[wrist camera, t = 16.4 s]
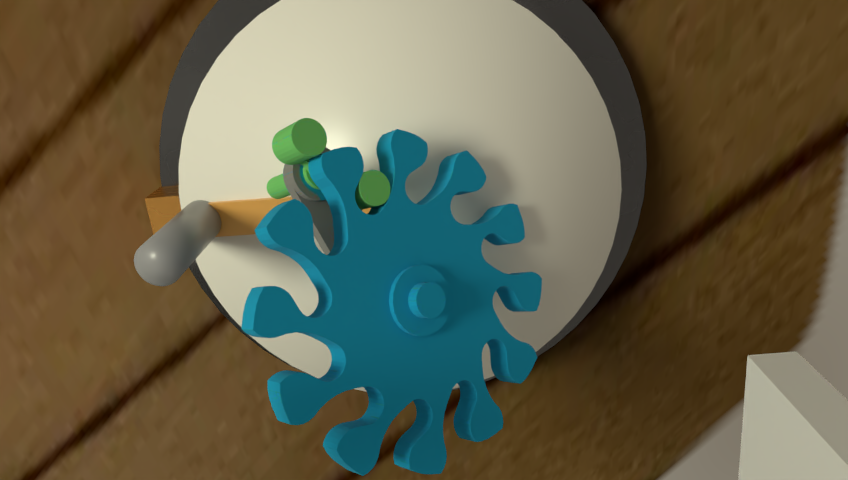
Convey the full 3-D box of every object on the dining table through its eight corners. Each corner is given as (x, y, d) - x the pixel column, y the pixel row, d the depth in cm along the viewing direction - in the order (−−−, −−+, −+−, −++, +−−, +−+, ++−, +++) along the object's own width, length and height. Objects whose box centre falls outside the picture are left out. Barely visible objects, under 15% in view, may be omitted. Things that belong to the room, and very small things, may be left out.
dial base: (220, 395, 30) (201, 430, 27) (117, -49, 23) (82, -53, 21) (635, 365, 29) (652, 398, 27) (643, -104, 23) (667, -114, 20)
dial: (611, -49, 22) (671, -62, 16) (604, 355, 27) (648, 451, 22) (158, -11, 23) (67, -10, 17) (236, 377, 28) (186, 476, 22)
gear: (598, 341, 23) (390, 568, 18) (484, 336, 28) (294, 513, 22) (450, 39, 20) (155, 196, 15) (353, 91, 25) (104, 224, 20)
